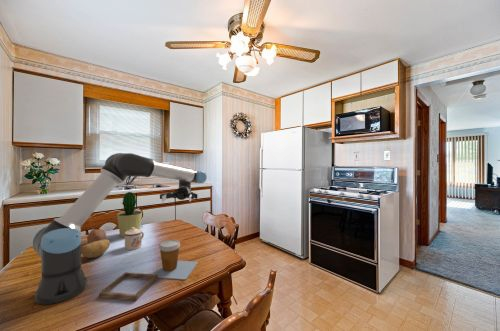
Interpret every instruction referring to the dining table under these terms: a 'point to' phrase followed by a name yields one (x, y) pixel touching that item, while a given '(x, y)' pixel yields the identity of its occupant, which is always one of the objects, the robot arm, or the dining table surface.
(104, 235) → the onion
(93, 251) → the potato
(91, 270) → the dining table surface
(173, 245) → the disposable coffee cup
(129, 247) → the teacup with lid
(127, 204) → the potted cactus
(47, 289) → the robot arm
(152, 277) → the walnut collar
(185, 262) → the slate mat
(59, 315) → the dining table surface
